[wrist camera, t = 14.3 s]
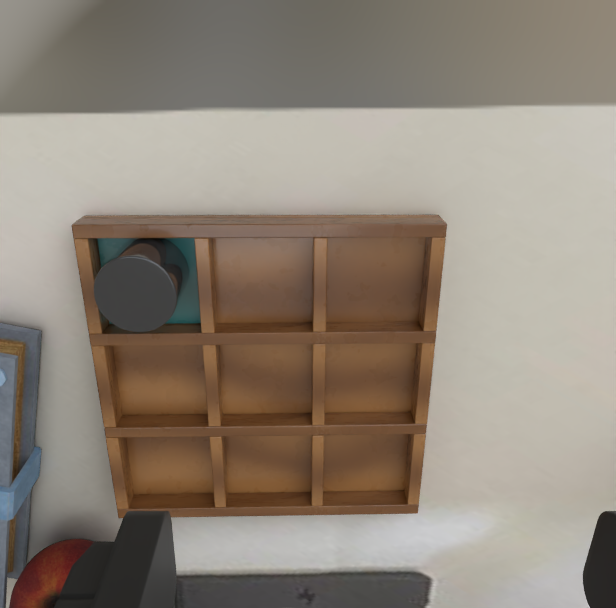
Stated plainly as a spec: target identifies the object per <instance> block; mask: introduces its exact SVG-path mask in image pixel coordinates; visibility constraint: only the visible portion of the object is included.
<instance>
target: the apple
mask: <svg viewBox="0 0 616 608" xmlns="http://www.w3.org/2000/svg"><path fill="white" fill-rule="evenodd" d="M93 543H94V542H93V541H89V540H84V539H69V540H64V541H60V542H57V543H55V544H52V545H50V546H48V547H47V548H45V549H43V550H42V551H40V552H39V553H38V554H37V555H36V556H35V557H33V558H32V559H31V561H30V562H29V563H28V564H27V565H26V567H25V568H24V570H23V571H22V573H21V574H20V576H19V578H18V580H17V582H16V584H15V586H14V589H13V592H12V595H11V600H10V606H9V608H54V606H55V604H56V602H57V600H59V598H60V592H61V590H62V588H63V586H64V583H65V581H66V579H67V576H68V574H69V572H70V569H71V567H72V565H73V564H74V563H75V562H76V561H77V560H78V559H79V558H80V557H81V556H82V555H83V554H84V552H85V551H86V550H87V549H88V548H89V547H90V546H91V545H92V544H93Z"/></svg>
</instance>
